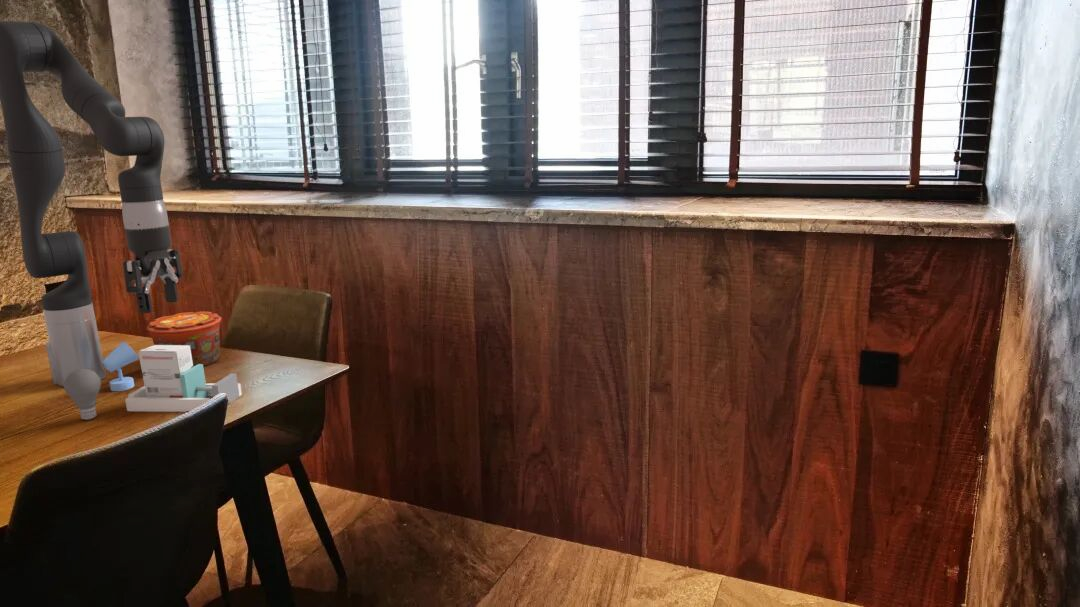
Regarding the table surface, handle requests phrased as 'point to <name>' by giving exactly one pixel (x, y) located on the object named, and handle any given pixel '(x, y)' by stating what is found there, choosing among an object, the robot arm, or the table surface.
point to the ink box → (164, 369)
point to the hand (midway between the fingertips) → (159, 307)
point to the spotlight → (117, 360)
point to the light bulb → (83, 390)
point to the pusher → (194, 383)
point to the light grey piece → (142, 403)
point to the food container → (190, 334)
